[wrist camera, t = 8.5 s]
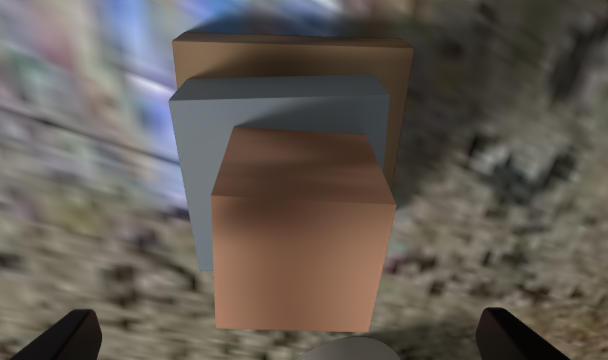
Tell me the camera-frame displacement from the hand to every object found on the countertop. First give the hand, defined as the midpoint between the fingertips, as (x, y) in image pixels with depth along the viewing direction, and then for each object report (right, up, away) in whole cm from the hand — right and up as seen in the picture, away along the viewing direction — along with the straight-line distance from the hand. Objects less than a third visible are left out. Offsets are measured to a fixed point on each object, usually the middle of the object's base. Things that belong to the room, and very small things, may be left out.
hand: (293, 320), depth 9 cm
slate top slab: (-1, +4, +10) cm, 11 cm away
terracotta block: (0, +3, +7) cm, 8 cm away
